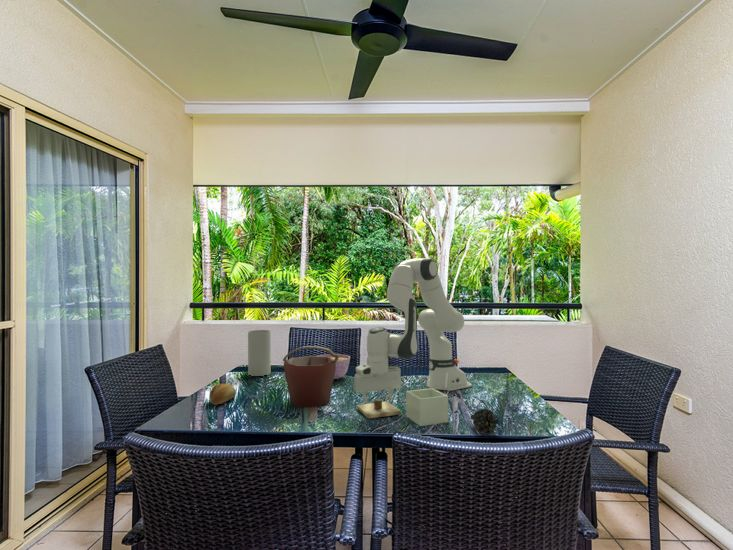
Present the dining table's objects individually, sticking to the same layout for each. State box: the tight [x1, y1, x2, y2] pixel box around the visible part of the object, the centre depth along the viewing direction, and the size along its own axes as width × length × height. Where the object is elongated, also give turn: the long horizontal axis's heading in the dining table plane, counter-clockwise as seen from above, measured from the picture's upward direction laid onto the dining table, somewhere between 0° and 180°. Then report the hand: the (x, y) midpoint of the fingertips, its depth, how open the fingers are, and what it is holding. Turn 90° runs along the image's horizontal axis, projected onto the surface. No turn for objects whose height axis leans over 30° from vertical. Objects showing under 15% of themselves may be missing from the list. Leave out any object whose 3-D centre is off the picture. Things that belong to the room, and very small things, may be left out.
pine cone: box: [469, 408, 500, 435], centre depth 149 cm, size 9×8×15 cm
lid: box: [356, 398, 402, 419], centre depth 169 cm, size 14×14×5 cm
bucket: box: [282, 345, 339, 409], centre depth 183 cm, size 24×22×25 cm
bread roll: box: [209, 383, 237, 406], centre depth 186 cm, size 10×15×8 cm, turn 171°
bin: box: [405, 387, 449, 427], centre depth 161 cm, size 12×12×10 cm
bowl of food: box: [318, 353, 351, 380], centre depth 227 cm, size 20×20×12 cm
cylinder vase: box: [247, 329, 272, 377], centre depth 237 cm, size 12×12×25 cm
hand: (377, 401), depth 169 cm, fingers open, 8 cm apart
